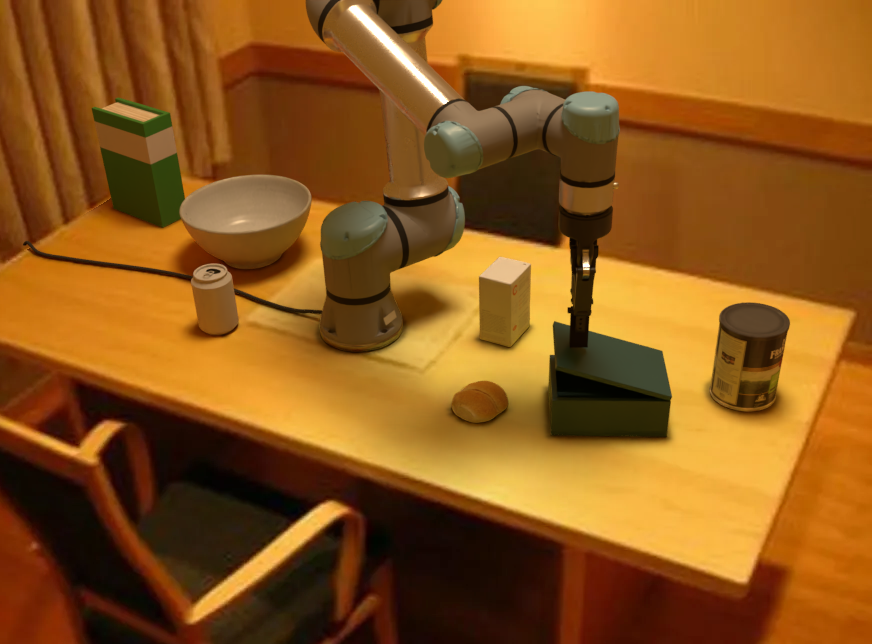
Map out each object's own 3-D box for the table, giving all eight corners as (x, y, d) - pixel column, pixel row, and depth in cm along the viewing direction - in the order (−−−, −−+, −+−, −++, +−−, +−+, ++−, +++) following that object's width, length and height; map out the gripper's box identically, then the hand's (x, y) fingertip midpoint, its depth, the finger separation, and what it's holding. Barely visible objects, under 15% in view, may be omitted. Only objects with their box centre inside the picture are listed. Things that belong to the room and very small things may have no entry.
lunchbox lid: (555, 369, 161) (557, 365, 161) (552, 325, 171) (554, 320, 171) (670, 401, 162) (672, 397, 162) (660, 354, 172) (662, 350, 172)
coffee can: (783, 384, 175) (797, 310, 167) (766, 418, 168) (780, 343, 160) (719, 368, 180) (730, 295, 172) (700, 401, 173) (710, 327, 165)
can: (246, 320, 203) (238, 264, 196) (226, 340, 198) (217, 283, 191) (212, 313, 206) (203, 258, 199) (192, 333, 201) (181, 277, 194)
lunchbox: (550, 435, 168) (552, 400, 164) (548, 388, 178) (549, 354, 175) (666, 437, 166) (671, 401, 162) (657, 389, 176) (661, 355, 172)
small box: (498, 318, 198) (499, 255, 190) (530, 326, 194) (532, 262, 187) (478, 339, 192) (477, 275, 185) (510, 348, 189) (511, 283, 182)
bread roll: (516, 404, 176) (517, 384, 173) (482, 430, 171) (482, 410, 168) (476, 386, 181) (476, 366, 178) (442, 411, 175) (441, 391, 173)
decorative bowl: (162, 264, 224) (151, 211, 217) (252, 215, 240) (245, 164, 233) (253, 300, 209) (244, 245, 202) (343, 245, 225) (338, 192, 218)
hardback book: (113, 208, 248) (91, 108, 234) (138, 196, 252) (118, 97, 239) (162, 227, 238) (142, 124, 224) (188, 215, 242) (170, 112, 228)
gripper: (617, 225, 146) (606, 368, 160) (609, 184, 157) (600, 322, 170) (561, 226, 147) (555, 368, 161) (557, 185, 158) (552, 322, 171)
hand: (578, 344), depth 165 cm, fingers closed
